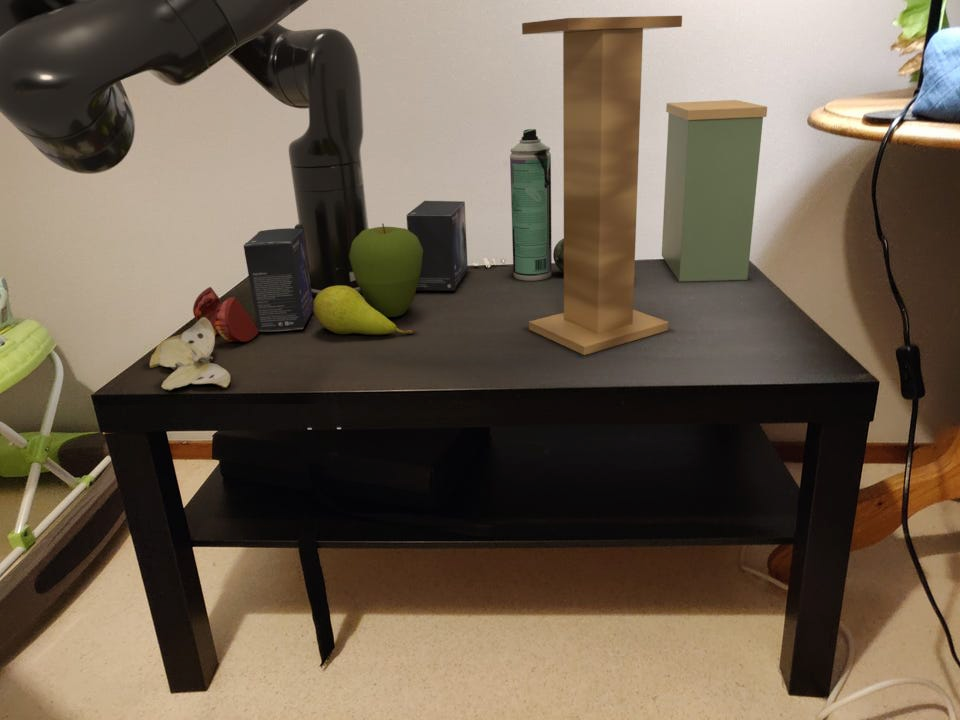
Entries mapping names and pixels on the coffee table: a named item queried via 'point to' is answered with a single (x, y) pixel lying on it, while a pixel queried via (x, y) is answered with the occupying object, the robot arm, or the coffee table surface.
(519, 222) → the spray can
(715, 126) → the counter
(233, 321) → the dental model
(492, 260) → the miniature set
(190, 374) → the butterfly
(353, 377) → the coffee table surface
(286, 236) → the box
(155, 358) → the pale yellow butterfly wing
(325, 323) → the fruit
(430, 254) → the small box
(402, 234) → the apple
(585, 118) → the stand
